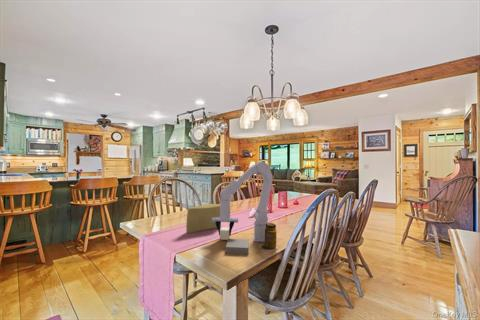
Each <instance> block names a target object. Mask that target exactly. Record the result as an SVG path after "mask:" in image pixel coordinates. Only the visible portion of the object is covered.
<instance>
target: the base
mask: <svg viewBox="0 0 480 320" xmlns="http://www.w3.org/2000/svg"><path fill="white" fill-rule="evenodd" d="M226 241H227V242H226V245H225V254H238V255H240V254H241V255H249V250H250V249H249V247H250V238H249V239H247V238H229V239H228V240H226Z"/></svg>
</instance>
